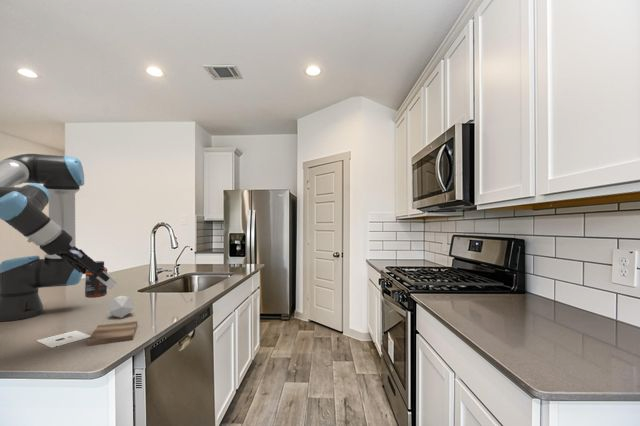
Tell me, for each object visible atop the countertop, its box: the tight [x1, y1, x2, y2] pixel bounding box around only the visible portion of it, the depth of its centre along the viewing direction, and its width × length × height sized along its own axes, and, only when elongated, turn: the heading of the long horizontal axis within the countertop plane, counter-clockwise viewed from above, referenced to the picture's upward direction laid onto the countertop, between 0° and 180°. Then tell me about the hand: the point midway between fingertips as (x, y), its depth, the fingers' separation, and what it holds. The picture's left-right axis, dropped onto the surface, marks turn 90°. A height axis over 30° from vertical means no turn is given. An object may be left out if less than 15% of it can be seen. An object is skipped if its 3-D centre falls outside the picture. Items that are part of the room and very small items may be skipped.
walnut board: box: [87, 320, 138, 347], centre depth 108 cm, size 16×12×2 cm
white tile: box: [35, 330, 91, 349], centre depth 104 cm, size 11×11×1 cm
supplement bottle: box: [84, 260, 108, 299], centre depth 106 cm, size 6×6×11 cm
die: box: [107, 295, 134, 319], centre depth 129 cm, size 8×9×10 cm
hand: (108, 284), depth 109 cm, fingers closed on supplement bottle, 6 cm apart
